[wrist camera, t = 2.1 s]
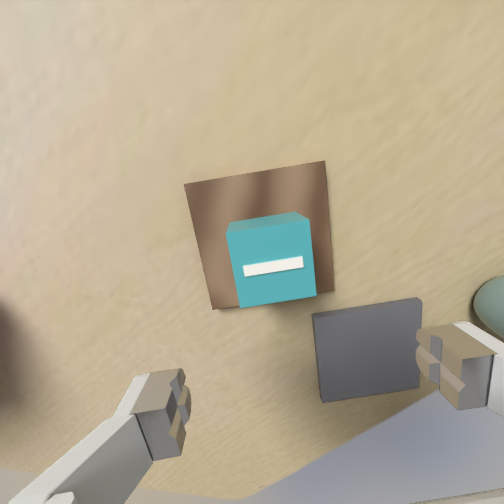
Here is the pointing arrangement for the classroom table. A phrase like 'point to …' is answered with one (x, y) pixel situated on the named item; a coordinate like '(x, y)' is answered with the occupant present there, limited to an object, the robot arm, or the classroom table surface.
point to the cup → (491, 305)
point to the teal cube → (272, 259)
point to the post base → (254, 206)
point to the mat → (367, 349)
